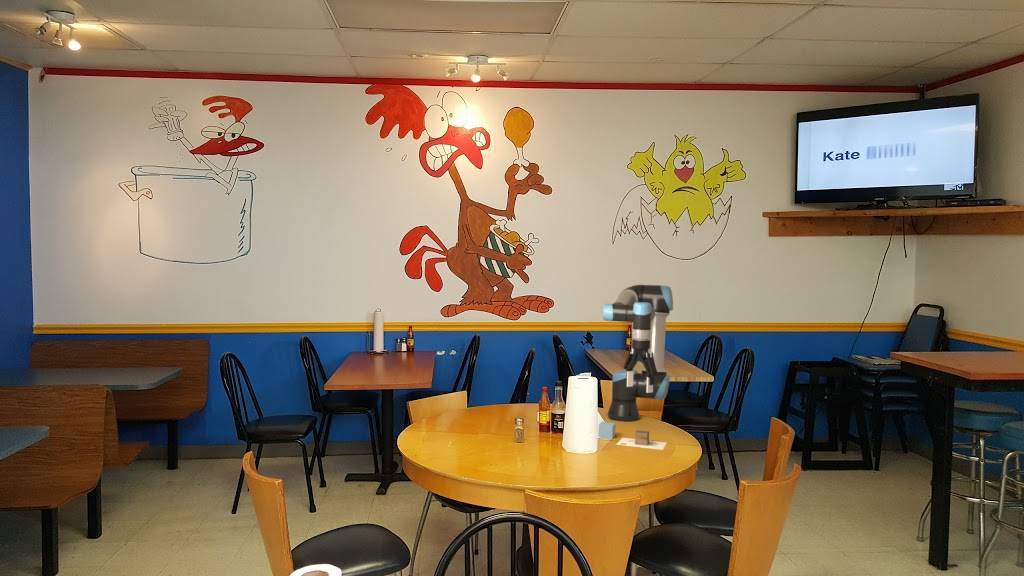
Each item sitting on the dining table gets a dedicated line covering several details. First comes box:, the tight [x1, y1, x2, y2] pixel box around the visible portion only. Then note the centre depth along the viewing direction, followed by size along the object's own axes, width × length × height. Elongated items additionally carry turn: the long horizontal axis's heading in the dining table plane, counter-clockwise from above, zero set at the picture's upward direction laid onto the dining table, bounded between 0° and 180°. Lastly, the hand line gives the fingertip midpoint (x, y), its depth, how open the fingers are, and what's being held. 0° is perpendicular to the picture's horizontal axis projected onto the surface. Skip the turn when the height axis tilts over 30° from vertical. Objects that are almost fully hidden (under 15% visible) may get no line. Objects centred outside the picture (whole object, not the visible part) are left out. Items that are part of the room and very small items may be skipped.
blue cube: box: [598, 421, 616, 440], centre depth 325 cm, size 6×6×6 cm
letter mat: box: [616, 437, 667, 451], centre depth 316 cm, size 16×22×1 cm
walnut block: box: [634, 429, 650, 446], centre depth 315 cm, size 5×5×5 cm
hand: (639, 389), depth 318 cm, fingers open, 13 cm apart
